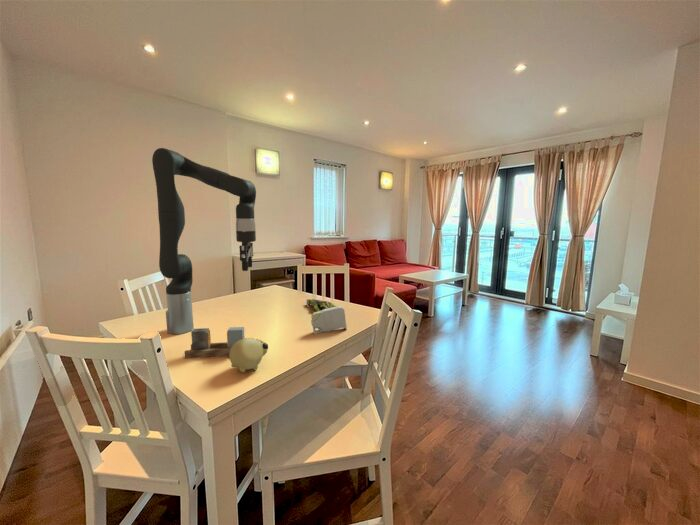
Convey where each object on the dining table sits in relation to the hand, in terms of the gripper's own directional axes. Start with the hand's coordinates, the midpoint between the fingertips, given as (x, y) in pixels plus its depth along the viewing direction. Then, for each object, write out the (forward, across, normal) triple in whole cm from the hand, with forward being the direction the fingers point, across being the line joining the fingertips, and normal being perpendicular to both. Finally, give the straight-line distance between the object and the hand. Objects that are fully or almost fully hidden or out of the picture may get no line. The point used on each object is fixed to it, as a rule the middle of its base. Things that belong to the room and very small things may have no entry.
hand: (247, 268), depth 122 cm
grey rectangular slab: (+28, +1, +34) cm, 44 cm away
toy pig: (+28, +31, +6) cm, 42 cm away
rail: (+28, +18, -8) cm, 34 cm away
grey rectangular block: (+27, +18, -1) cm, 32 cm away
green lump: (+29, -30, +32) cm, 52 cm away
